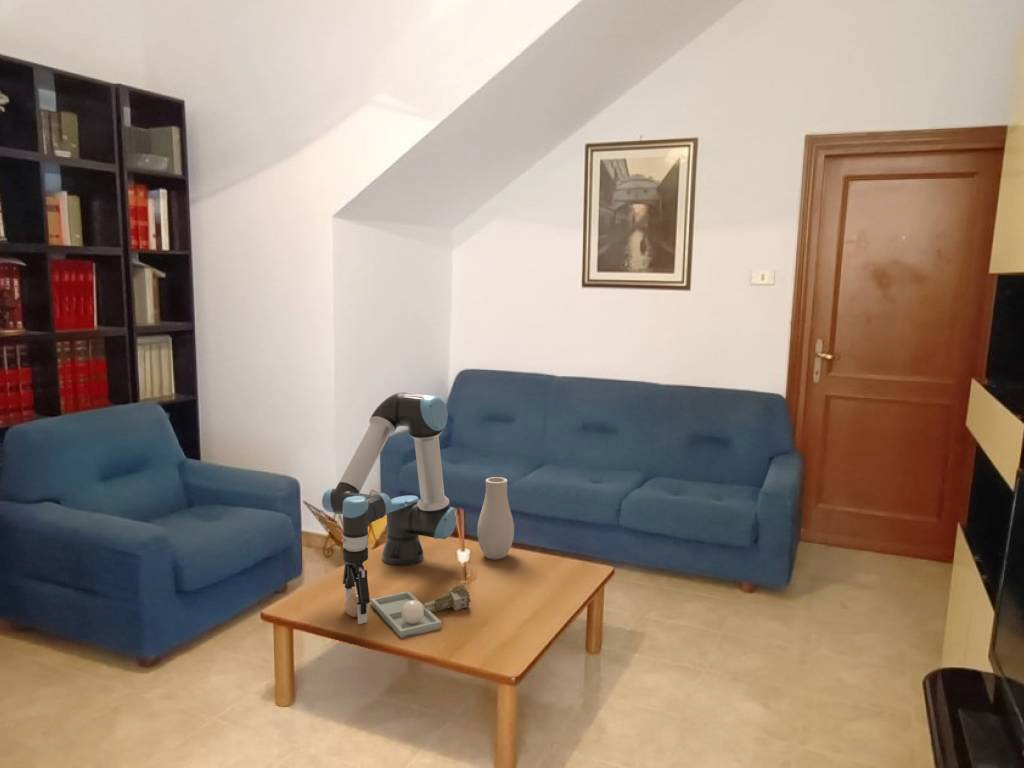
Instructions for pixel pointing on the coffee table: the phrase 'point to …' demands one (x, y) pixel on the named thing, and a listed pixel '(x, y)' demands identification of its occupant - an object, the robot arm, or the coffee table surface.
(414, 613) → the cream egg
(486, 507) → the vase
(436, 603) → the toy
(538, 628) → the coffee table surface
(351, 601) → the pink ball
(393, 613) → the divided tray
